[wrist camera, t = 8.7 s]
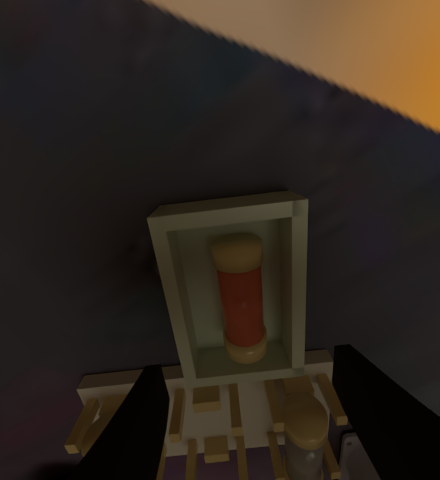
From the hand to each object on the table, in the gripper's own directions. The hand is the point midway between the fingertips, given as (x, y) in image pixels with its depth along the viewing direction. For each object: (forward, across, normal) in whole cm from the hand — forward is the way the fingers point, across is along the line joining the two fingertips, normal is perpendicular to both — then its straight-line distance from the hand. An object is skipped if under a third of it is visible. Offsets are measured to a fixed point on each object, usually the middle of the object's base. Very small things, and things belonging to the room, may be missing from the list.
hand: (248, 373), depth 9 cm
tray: (+7, 0, 0) cm, 7 cm away
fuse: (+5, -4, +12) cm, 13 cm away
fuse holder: (+7, +3, +12) cm, 14 cm away
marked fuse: (+6, 0, 0) cm, 7 cm away
